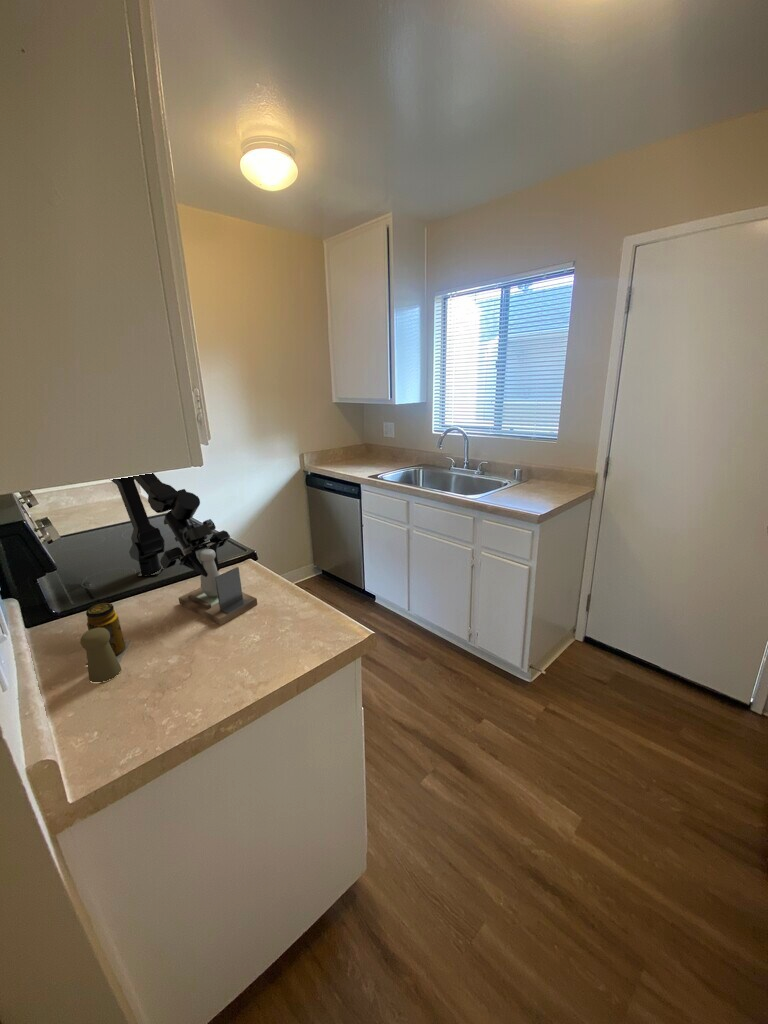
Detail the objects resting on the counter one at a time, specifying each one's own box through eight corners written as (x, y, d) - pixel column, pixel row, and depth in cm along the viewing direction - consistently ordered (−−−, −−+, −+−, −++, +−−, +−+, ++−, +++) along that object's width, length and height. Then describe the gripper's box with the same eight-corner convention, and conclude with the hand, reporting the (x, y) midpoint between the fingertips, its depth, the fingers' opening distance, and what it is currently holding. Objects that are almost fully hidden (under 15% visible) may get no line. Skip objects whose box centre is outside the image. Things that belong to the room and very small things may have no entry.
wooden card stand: (179, 603, 117) (177, 593, 116) (216, 586, 127) (214, 576, 126) (220, 625, 107) (219, 614, 106) (257, 604, 117) (256, 594, 116)
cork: (86, 673, 91) (73, 631, 87) (117, 660, 95) (106, 620, 91) (92, 688, 87) (79, 644, 83) (124, 673, 91) (113, 631, 87)
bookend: (220, 610, 110) (214, 577, 107) (241, 598, 116) (237, 567, 113) (228, 614, 109) (222, 580, 105) (249, 602, 114) (245, 570, 111)
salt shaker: (222, 596, 115) (215, 554, 110) (200, 599, 114) (192, 556, 109) (225, 586, 120) (219, 545, 116) (204, 588, 119) (197, 547, 115)
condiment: (131, 640, 102) (121, 598, 98) (120, 663, 94) (108, 618, 90) (98, 645, 100) (86, 602, 96) (84, 668, 92) (70, 623, 88)
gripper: (158, 523, 104) (190, 574, 102) (222, 504, 118) (251, 547, 116) (147, 544, 111) (177, 592, 109) (209, 523, 125) (236, 565, 123)
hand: (212, 573), depth 114 cm, fingers closed on salt shaker, 3 cm apart
